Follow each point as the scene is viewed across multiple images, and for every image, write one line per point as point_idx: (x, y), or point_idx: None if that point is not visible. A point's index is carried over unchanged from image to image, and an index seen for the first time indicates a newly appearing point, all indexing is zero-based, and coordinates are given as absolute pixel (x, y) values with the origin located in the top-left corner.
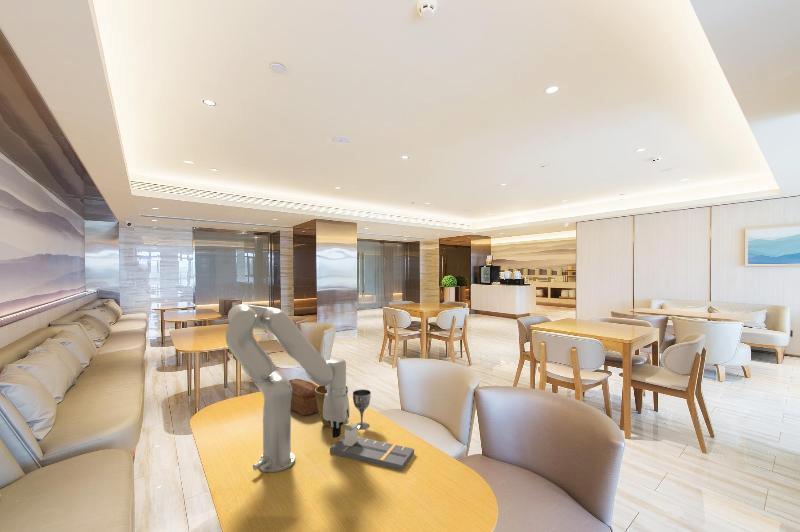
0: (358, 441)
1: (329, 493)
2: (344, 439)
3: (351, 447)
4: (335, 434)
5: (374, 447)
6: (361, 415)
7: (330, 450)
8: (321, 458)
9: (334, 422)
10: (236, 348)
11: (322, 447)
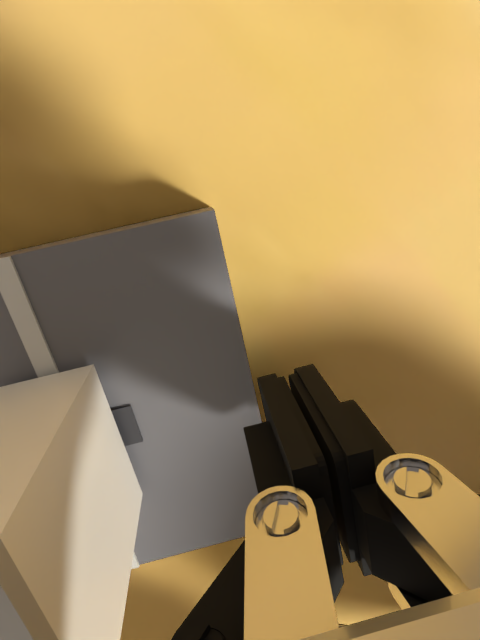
0: None
1: None
2: (220, 450)
3: (3, 385)
4: (279, 399)
5: None
6: None
7: (202, 209)
8: (205, 55)
9: (437, 578)
10: None
11: (368, 247)
